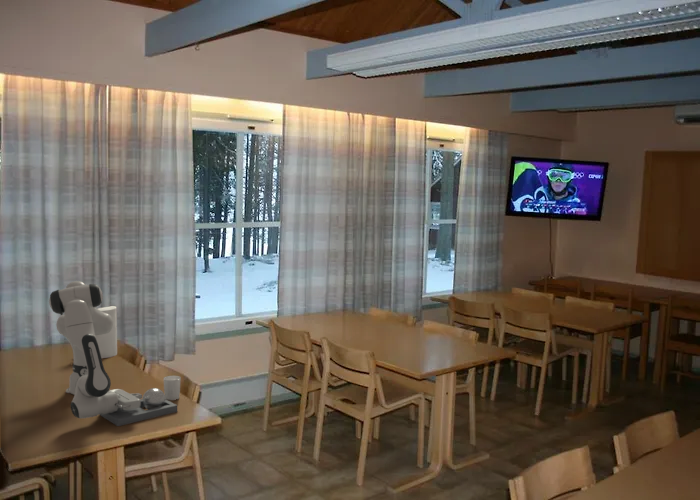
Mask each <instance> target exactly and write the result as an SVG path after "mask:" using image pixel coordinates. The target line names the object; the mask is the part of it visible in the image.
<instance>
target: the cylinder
mask: <svg viewBox="0 0 700 500" xmlns="http://www.w3.org/2000/svg"><path fill="white" fill-rule="evenodd" d="M97 309H99V310H100V311H102V312H104V313H107V314H109V315H110V316H111V317H112V319H113V327H112V329H111V331H110V332H109V333H106V334H102V335H95V337H96V340H97V343H98V347H99V351H100V355H101V359H106V358H113V357H115V356H117V355H118V319H117V317H118V316H117V315H118V314H117V306H114V305H111V306H104V307H99V308H97Z"/></svg>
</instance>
